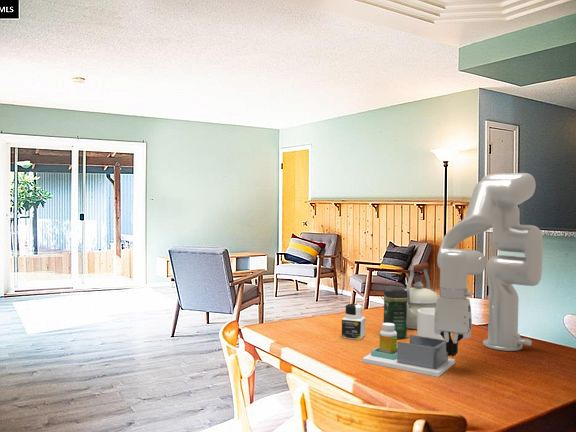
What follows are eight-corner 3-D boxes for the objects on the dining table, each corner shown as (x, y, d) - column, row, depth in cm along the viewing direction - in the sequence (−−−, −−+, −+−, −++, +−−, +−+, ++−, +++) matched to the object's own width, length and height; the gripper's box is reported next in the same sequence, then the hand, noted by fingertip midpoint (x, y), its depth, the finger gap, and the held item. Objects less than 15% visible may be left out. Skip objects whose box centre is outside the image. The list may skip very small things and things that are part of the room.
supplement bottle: (393, 357, 164) (393, 326, 164) (376, 355, 167) (377, 324, 167) (398, 353, 169) (399, 323, 168) (382, 351, 171) (383, 321, 171)
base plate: (455, 363, 164) (455, 354, 164) (438, 377, 150) (438, 367, 150) (382, 350, 177) (383, 342, 177) (362, 362, 164) (362, 353, 164)
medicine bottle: (341, 338, 192) (341, 305, 192) (346, 333, 199) (347, 302, 199) (360, 340, 190) (361, 307, 189) (365, 335, 196) (365, 303, 196)
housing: (447, 359, 163) (448, 340, 162) (436, 369, 153) (436, 348, 153) (410, 353, 169) (410, 334, 169) (397, 361, 160) (397, 342, 160)
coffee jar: (409, 339, 192) (410, 288, 191) (388, 339, 191) (388, 288, 190) (401, 332, 201) (401, 284, 201) (380, 333, 200) (381, 284, 200)
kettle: (407, 317, 228) (408, 260, 227) (449, 323, 217) (450, 263, 216) (381, 328, 207) (382, 265, 207) (426, 336, 197) (428, 269, 196)
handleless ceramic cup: (419, 346, 183) (419, 313, 182) (414, 337, 194) (415, 307, 194) (454, 347, 181) (455, 315, 181) (447, 339, 193) (448, 308, 193)
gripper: (482, 294, 155) (481, 356, 155) (432, 289, 163) (431, 348, 164) (475, 298, 149) (474, 362, 149) (424, 292, 157) (422, 354, 157)
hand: (451, 355), depth 156 cm, fingers closed
